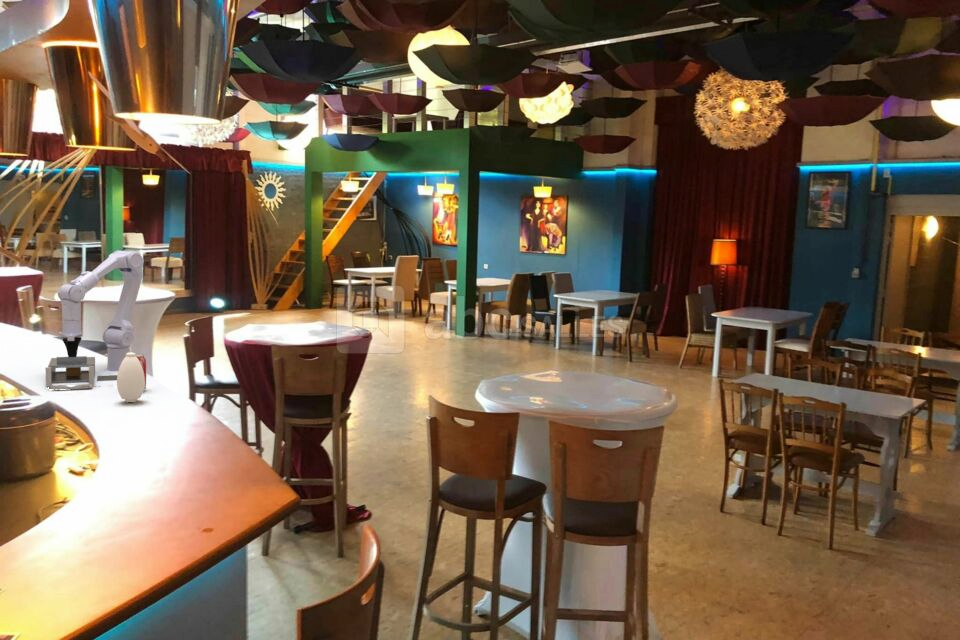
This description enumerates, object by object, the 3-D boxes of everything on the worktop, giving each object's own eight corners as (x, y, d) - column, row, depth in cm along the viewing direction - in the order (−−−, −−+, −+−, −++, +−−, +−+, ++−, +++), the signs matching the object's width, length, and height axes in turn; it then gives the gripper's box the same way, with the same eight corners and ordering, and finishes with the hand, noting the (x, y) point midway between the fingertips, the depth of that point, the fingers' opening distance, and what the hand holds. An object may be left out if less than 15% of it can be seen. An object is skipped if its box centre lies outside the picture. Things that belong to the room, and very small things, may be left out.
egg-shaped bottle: (142, 405, 237) (141, 346, 234) (114, 405, 235) (113, 346, 233) (147, 399, 244) (146, 342, 242) (120, 399, 243) (120, 342, 240)
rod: (48, 391, 249) (48, 386, 249) (49, 390, 250) (48, 385, 250) (93, 389, 254) (93, 384, 254) (93, 388, 256) (93, 383, 256)
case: (51, 375, 273) (51, 355, 272) (96, 373, 279) (95, 354, 278) (46, 389, 252) (45, 367, 251) (94, 387, 258) (94, 366, 257)
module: (66, 373, 274) (66, 360, 273) (80, 373, 276) (80, 359, 275) (66, 376, 270) (65, 362, 269) (80, 375, 272) (80, 362, 271)
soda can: (150, 389, 258) (150, 353, 256) (139, 393, 251) (138, 357, 249) (130, 388, 259) (129, 352, 257) (118, 392, 252) (117, 356, 250)
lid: (51, 360, 271) (51, 352, 270) (94, 359, 276) (94, 351, 276) (48, 368, 257) (48, 359, 257) (93, 366, 263) (93, 358, 263)
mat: (97, 377, 272) (97, 375, 272) (125, 376, 276) (125, 374, 276) (96, 382, 264) (96, 381, 264) (125, 381, 268) (125, 379, 268)
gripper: (59, 317, 271) (60, 355, 273) (56, 322, 258) (57, 362, 260) (82, 316, 274) (83, 354, 276) (80, 322, 261) (81, 362, 263)
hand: (72, 358), depth 268 cm, fingers closed
